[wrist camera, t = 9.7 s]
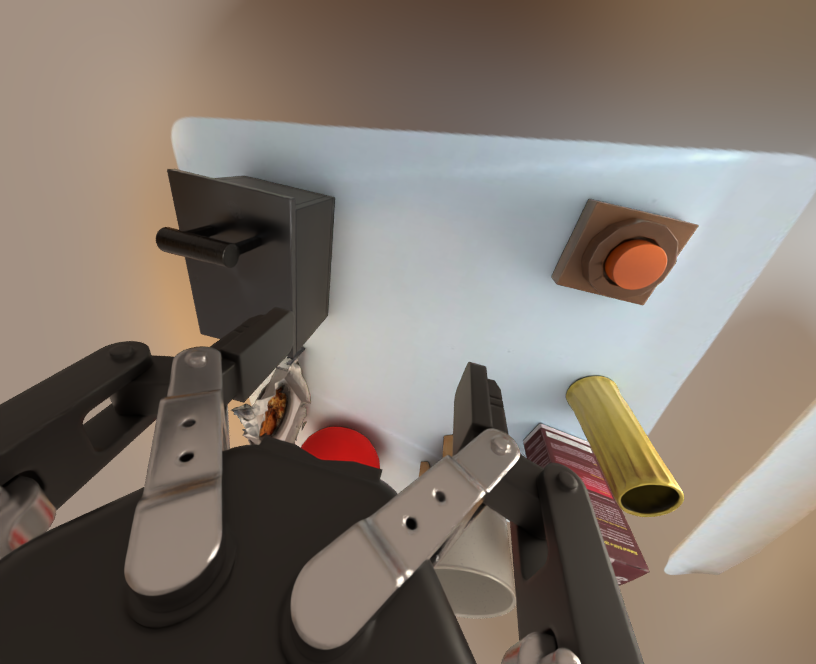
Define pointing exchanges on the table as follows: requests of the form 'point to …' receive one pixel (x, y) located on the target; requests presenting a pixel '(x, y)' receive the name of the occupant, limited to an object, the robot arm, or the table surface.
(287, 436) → the meal
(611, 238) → the control block
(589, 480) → the supplement box
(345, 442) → the tomato
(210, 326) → the black box lid
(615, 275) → the button
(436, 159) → the table surface
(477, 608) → the planter
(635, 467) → the vase
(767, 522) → the table surface
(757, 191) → the table surface
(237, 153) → the table surface
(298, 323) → the box
